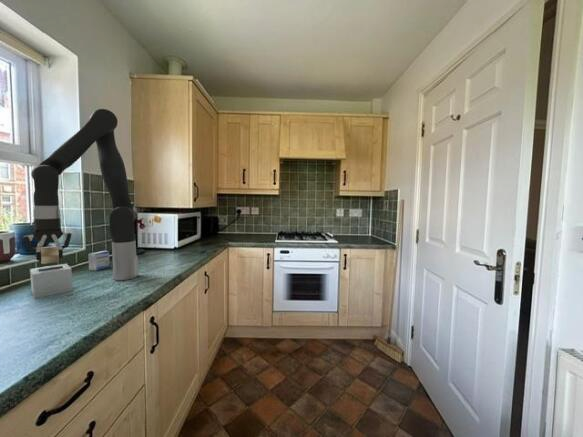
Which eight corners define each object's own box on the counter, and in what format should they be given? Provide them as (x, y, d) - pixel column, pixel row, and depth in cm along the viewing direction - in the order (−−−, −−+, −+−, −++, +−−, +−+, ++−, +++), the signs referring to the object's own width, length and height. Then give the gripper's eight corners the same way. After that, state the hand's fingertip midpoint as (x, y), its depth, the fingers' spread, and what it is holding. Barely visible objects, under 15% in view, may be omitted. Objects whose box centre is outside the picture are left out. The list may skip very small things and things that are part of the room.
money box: (67, 284, 110) (66, 263, 109) (72, 290, 102) (71, 268, 102) (31, 291, 101) (29, 268, 101) (34, 298, 94) (32, 274, 93)
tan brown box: (58, 260, 104) (57, 245, 103) (59, 261, 102) (58, 246, 101) (40, 262, 100) (40, 247, 100) (41, 264, 98) (40, 248, 98)
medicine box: (96, 270, 129) (95, 254, 129) (88, 270, 130) (87, 253, 130) (109, 266, 137) (109, 250, 136) (103, 266, 138) (102, 250, 137)
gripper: (69, 215, 107) (71, 255, 109) (20, 217, 97) (23, 261, 98) (73, 217, 102) (75, 258, 104) (21, 218, 92) (24, 265, 93)
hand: (49, 259), depth 101 cm, fingers closed on tan brown box, 5 cm apart
